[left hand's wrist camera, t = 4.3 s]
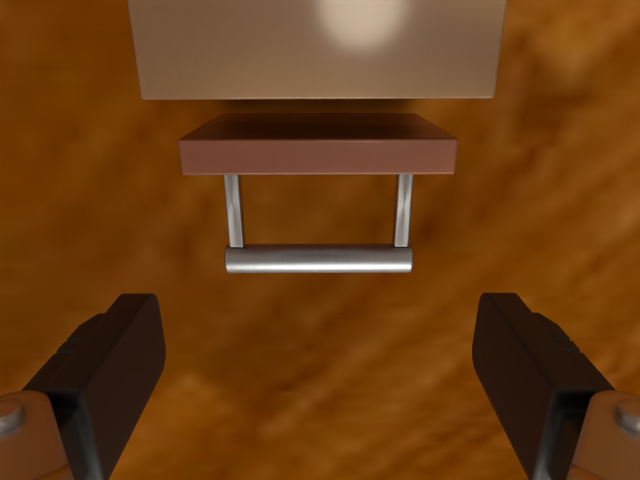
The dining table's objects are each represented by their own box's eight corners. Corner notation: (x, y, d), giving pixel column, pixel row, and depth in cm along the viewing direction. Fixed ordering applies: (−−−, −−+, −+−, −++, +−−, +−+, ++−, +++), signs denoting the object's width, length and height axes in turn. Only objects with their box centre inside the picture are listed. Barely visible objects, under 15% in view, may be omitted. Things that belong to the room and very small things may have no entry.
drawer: (407, 238, 23) (440, 307, 17) (230, 239, 23) (197, 307, 17) (448, -312, 16) (536, -564, 9) (184, -311, 16) (92, -562, 9)
